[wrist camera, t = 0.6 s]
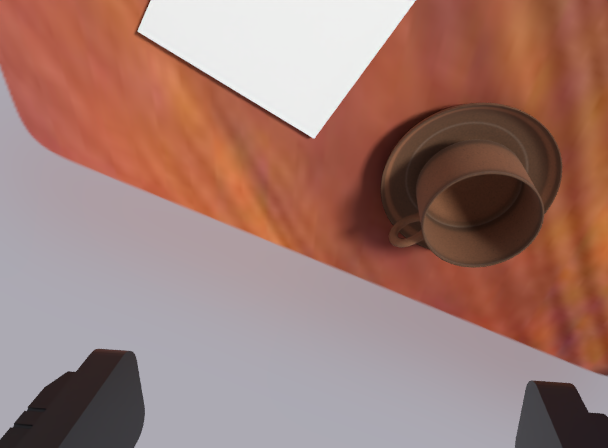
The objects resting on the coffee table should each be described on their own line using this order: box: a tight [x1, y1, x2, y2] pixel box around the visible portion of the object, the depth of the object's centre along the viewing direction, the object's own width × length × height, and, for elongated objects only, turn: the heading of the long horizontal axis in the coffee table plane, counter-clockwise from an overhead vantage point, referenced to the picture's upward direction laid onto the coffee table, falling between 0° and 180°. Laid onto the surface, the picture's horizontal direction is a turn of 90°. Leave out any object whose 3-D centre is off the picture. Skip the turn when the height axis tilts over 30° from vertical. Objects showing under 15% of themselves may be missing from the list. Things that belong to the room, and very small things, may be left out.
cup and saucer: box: [381, 103, 562, 267], centre depth 35 cm, size 12×12×6 cm
